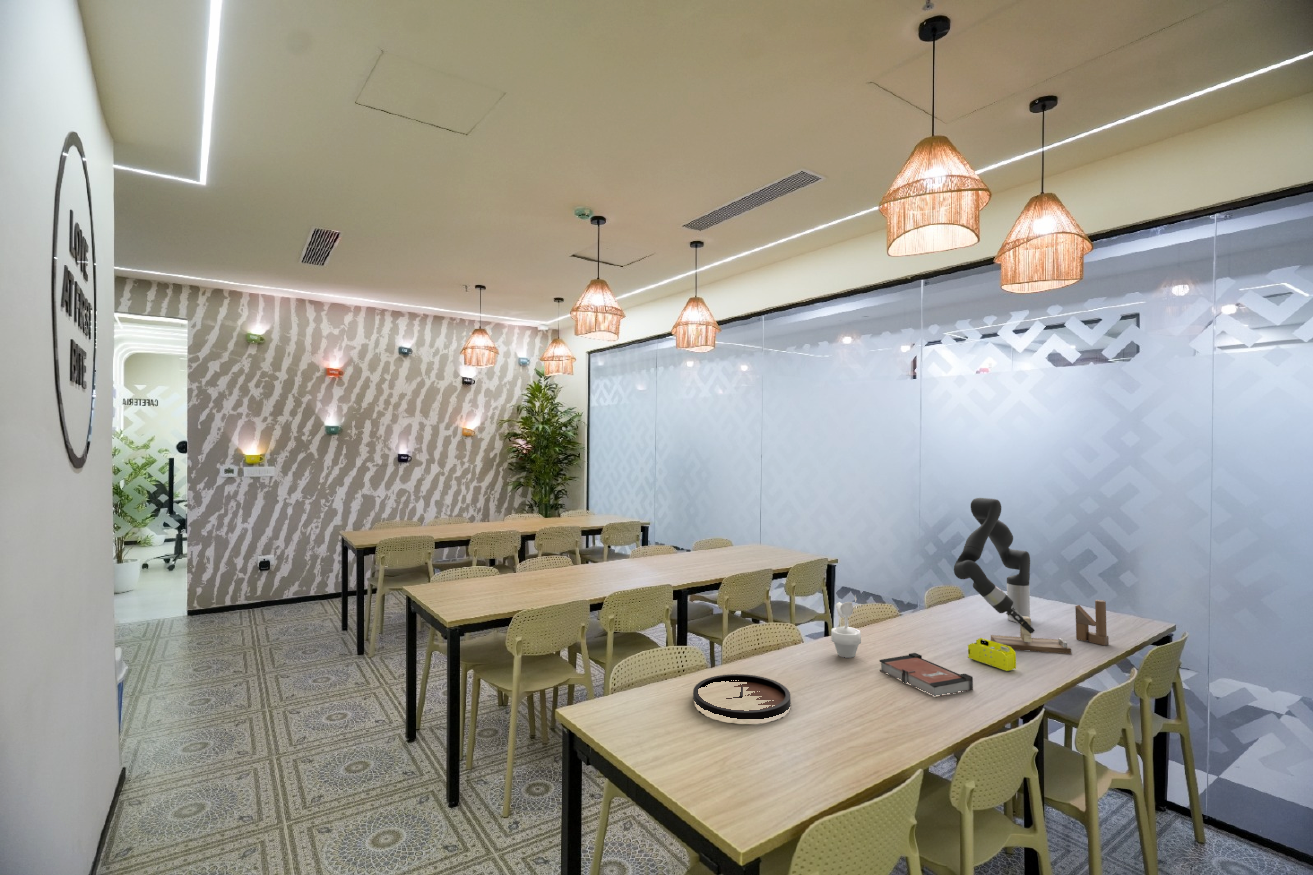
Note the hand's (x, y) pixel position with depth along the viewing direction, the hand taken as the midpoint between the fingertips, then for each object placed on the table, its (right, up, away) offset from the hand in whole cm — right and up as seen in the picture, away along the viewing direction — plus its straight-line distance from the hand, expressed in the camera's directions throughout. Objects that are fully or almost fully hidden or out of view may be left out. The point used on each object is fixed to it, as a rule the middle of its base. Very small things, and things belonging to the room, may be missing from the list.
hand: (1031, 630), depth 249 cm
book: (-59, -8, -33) cm, 68 cm away
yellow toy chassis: (-26, -8, -19) cm, 33 cm away
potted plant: (-78, -8, -6) cm, 78 cm away
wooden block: (+30, -7, +7) cm, 31 cm away
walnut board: (0, -7, +2) cm, 7 cm away
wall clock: (-126, -8, -51) cm, 136 cm away
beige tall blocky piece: (-2, -4, 0) cm, 4 cm away
